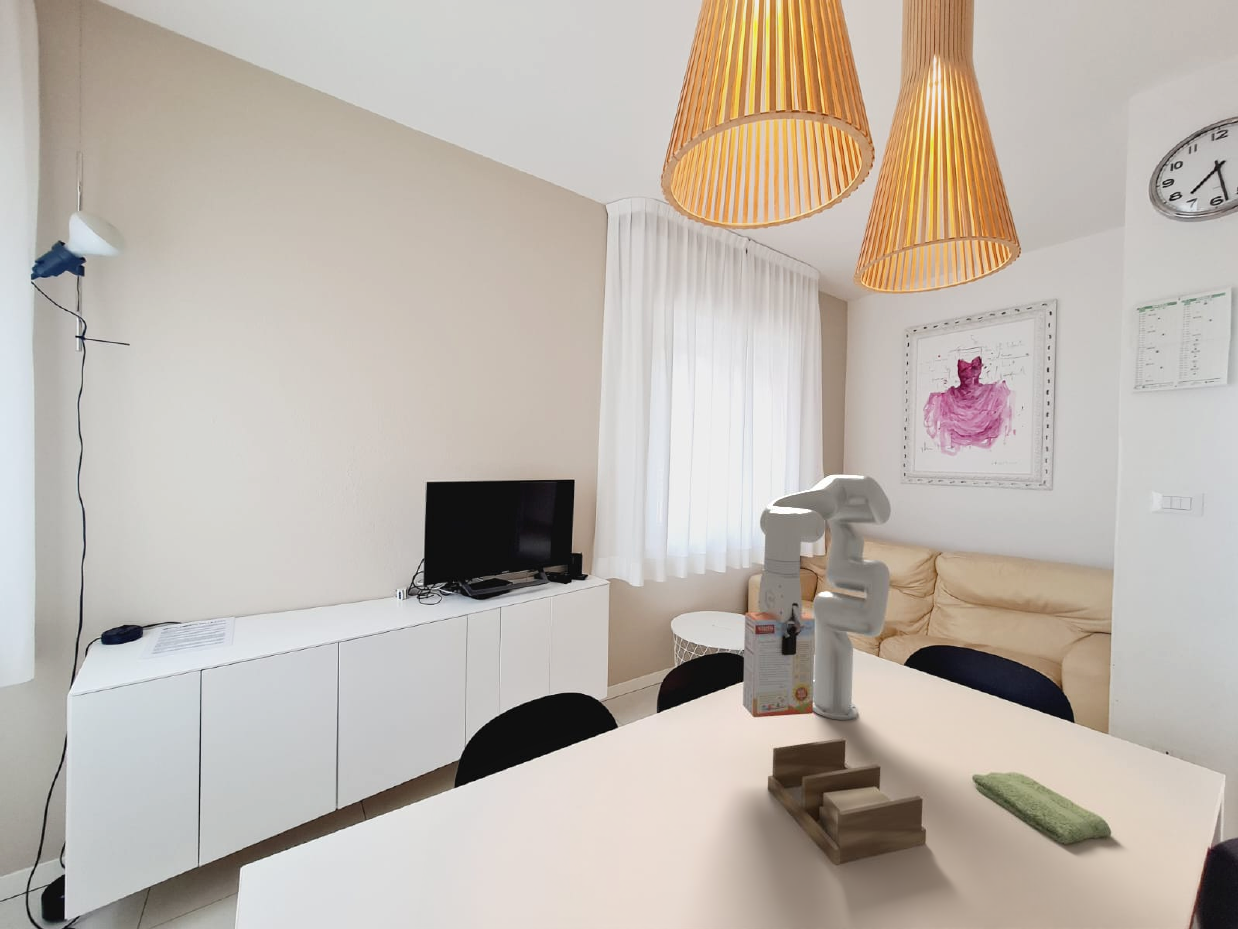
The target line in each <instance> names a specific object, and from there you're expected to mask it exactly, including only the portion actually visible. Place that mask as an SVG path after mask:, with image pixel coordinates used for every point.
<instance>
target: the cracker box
mask: <svg viewBox="0 0 1238 929" xmlns="http://www.w3.org/2000/svg"><path fill="white" fill-rule="evenodd" d="M801 616H802V618H803V620H804V622H805V627H804V628H803V629H802V630H801V632H800V633H799V636H798V637H797V639H796V654H795V655H783V654H782V636H785V635H784V630H783V625H782V623H778V622H777V621H776V620H775V619H774V618H772V617H770V616H769V615H767V614H765V613H761V612H746V613H745V614H744V617H745V618H744V647H743V648H744V649H743V651H744V652H743V683H742V684H743V686H742V689H743V691H742V692H743V693H742V695H743V696H742V705H743V707H744V708H745V709H746V711H747V712H748V713H750V715H751V716H752V717H753V718H763V717H765V718H766V717H779V716H793V715H795V716H796V715H809V714H810V715H811V714H813V712H814V711H813V680H814V666H815V619H814V617H813V616H811V615H809V614H806V613H805V612H803V611H802V615H801ZM789 621H792V619H791V618H790V619H789ZM791 627H792V624H788V628H789V629H790V628H791Z"/></svg>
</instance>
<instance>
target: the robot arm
mask: <svg viewBox="0 0 1238 929" xmlns="http://www.w3.org/2000/svg"><path fill="white" fill-rule="evenodd" d="M891 512H892V509H891V504H890V501H889V497H888V496H887V495H886V493H885V491H884V490H883V488H882V486H881V485H880V484H879V483H878V482H877V480H875V479H874V478H872V477H871V476H868V475H855V474H854V475H850V474H849V475H848V474H832V475H829V476H826V477H825V478H823V479H822V480H821V481H820V482H818V483H817V484H816V485H815V486H814V487H812V488H811V489H810V490H804V491H801V492H797V493H793V494H788V495H785V496H782V497H779V498H776V499H775V500H773V501H772V502H771V503H770V504H768V505H767V506H766V507H765V508H764V510H763V511H762V513H761V515H760V519H759V527H760V529H761V532H762V533H763V534H764V536H765V537H764V557H763V558H764V559H763V560H764V561H763V569H762V572H761V575H760V582H759V588H758V589H759V590H758V602H757V604H758V605H757V608H758V611H759V613H765V614H767V615H769V616H770V617H772V618H774V619H775V620H776V621H777V622H778V623H782V625H783V630H784V635H785V636H782V654H783V655H795V654H796V639H797V637H798V636H799V633H800V632H801V630H802V629H803V628H804V627H805V622H804V620H803V618H802V616H801V615H802V612H803V600H802V598H803V597H802V585H801V584H802V583H801V577H800V575H801V553H802V552H801V550H802V549H801V547H802V543H808V544H809V543H815V542H818V541H819V540H820V539H821V538H822V537H823V536H824V533H825V531H826V521H827V524H828V526H829V527H828V528H829V529H830V534H831V541H830V546H829V552H828V557H827V561H826V562H827V563H826V567H825V580H826V583H827V584H828V585H829V586H830V587H833V588H836V589H839V590H844V591H849V592H854V593H859V594H863V595H865V596H866V598H865V597H861V596H855V595H851V594H845V593H842V592H837V591H836V592H835V591H828V590H827V591H822V592H821V591H820V592H819V593H818V594H816V595H815V597H814V598H813V600H812V601H813V602H812V614H813V618H814V619H815V636H814V680H813V712H815V713H816V714H818V715H820V716H823V717H826V718H829V719H833V720H841V721H848V720H852V719H855V718H856V717H858V713H859V712H858V711H859V710H858V707H857V706H856V705H855V704H854V703H853V702H852V698H853V671H854V670H853V669H854V668H853V667H854V666H853V665H854V647H853V646H854V645H853V642H852V640H851V638H850V636H849V634H848V633H852V634H856V635H860V636H864V637H870V638H877V637H878V636H880V635H881V633H882V632H883V629H884V625H885V619H886V611H887V606H888V599H889V591H890V584H891V583H890V582H891V577H890V576H891V575H890V570H889V568H888V566H887V565H886V563H884V562H883V561H882V560H881V561H880V560H877V559H873V558H865V557H863V553H864V548H865V547H864V546H865V540H864V538H863V536H862V534H861V533H860V532H859V530H858V529H857V528H856V527H855V525H854V524H855V523H856V524H864V525H872V526H880V525H884V524H886V523H887V522H888V520H889V519H890V516H891ZM853 523H854V524H853ZM790 618H791V619H792V621H789V619H790ZM788 624H792V627H791V628H790V629H789V628H788ZM847 632H848V633H847Z"/></svg>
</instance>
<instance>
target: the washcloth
mask: <svg viewBox="0 0 1238 929" xmlns="http://www.w3.org/2000/svg"><path fill="white" fill-rule="evenodd" d="M971 777H972V778H971V779H972V781H973V782H974V783H975V784H976V786H975V789H976V790H977V791H978V790H979V791H978V792H979V793H981V794H983V795H984V796H985V797H987V798H989V799H990V800H992V801H994V802H995V803H996V804H998V805H1000V806H1001V807H1003V808H1004V809H1005V810H1008V811H1009V812H1010V813H1012V814H1014V815H1015V816H1016V817H1018V818H1020V819H1021V820H1023V821H1024V822H1026V823H1027V824H1029V825H1030V826H1032V827H1033V828H1035V829H1037V830H1038V831H1040V832H1042V833H1043V834H1044V835H1046V836H1047V837H1049V838H1051V839H1052V840H1053V841H1055V842H1057V843H1060V844H1063V845H1068V844H1072V843H1076V842H1082V841H1083V840H1085V839H1086V840H1087V839H1089V838H1091V839H1097V838H1102V837H1105V838H1106V837H1107V836H1111V834H1112V830H1111V827H1110V826H1109V824H1108V823H1107V822H1106V820H1105V819H1104V818H1103V817H1102V816H1100V815H1099V814H1097V813H1094V811H1091V810H1088V809H1086V808H1084V807H1082V806H1080V805H1079V804H1076V803H1075V802H1074V801H1072V800H1071V799H1069V798H1067V797H1066V796H1063V795H1062V794H1059V793H1057V792H1055V791H1053V790H1051V789H1050V788H1048V787H1046V786H1045V785H1043V784H1041V783H1040V782H1038V781H1037V780H1035V779H1033V777H1032V778H1031V777H1030V776H1028V775H1026V774H1023V773H1019V772H1014V771H1013V772H1012V771H1010V772H997V771H996V772H989V773H987V774H977V773H975V774H973V775H971Z"/></svg>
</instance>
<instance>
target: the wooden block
mask: <svg viewBox="0 0 1238 929" xmlns="http://www.w3.org/2000/svg"><path fill="white" fill-rule="evenodd" d="M889 801H892V800H891V799H890V798H889V797H888V796H887V795H886V794H884V792H882V791H881V790H879V789H878V788H877V787H868V788H860V789H852V790H844V791H835V792H827V793H824V795H823V807H820V809H819V820H818V823H819V825H821V826H822V827H821V828H822V829H823V830H824V831H825V832H826V833H827V835H828V836H829V837H830V838H831V839H832V840H833V841H834V842H835V843H836V844H837V830H838V812H839V811H844V810H849V809H854V808H859V807H864V806H869V805H874V804H879V803H884V802H889Z"/></svg>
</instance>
